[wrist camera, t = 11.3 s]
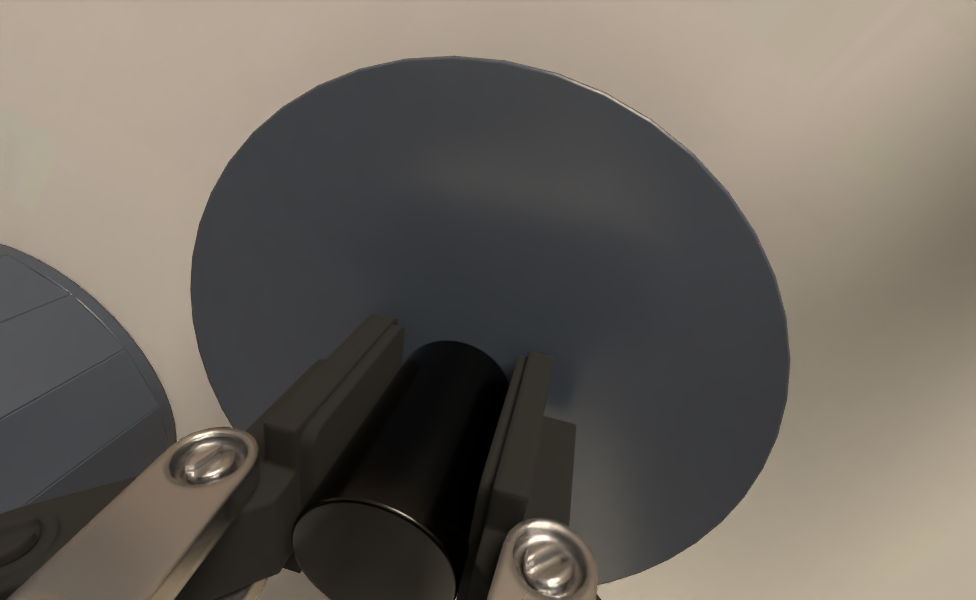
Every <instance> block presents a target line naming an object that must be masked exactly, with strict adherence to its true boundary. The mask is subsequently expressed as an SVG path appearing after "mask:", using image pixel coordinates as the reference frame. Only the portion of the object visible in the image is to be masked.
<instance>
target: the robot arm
mask: <svg viewBox="0 0 976 600" xmlns="http://www.w3.org/2000/svg"><path fill="white" fill-rule="evenodd" d="M404 336H405V329H404V327H403V326H399V325H398V320H397V318H393V317H389V316H385V315H381V314H377V313H372V314H370V315H369V316H368V317H367V318H366V319H365V320H364V321H363V322H362V323H361V324H360V325H359V326H358V327H357V328H356V329H355V330H354V331H353V332H352V334H351V335H350V336H349V337H348V338H347V339H346V340H345V341H344V342H343V343H342V344H341V345H340V346H339V347H338V348H337V349H336V350H335V351H334V352H333V353H332V354H331V355H330V356H329V357H328V358H327V359H324V358H323V359H319V360H318V361H316V362H315V363H314V364H313V365H312V366H311V367H310V368H309V369H308V370H307V371H306V372H305V373H304V374H303V375H302V376H301V377H300V378H299V379H298V380H297V381H296V382H295V383H294V384H293V385H292V386H291V387H290V388H289V389H288V390H287V391H286V392H285V393H283V394H282V395H281V396H280V397H279V398H278V399H277V400H276V401H275V402H274V403H273V404H272V405H271V406H270V407H269V408H268V409H267V410H266V411H265V412H264V413H263V414H262V415H261V416H260V417H259V418H258V419H257V420H256V421H255V422H254V423H253V424H252V425H251V426H250V427H249V428H248V429H247V430H246V431H243V430H240V429H238V428H230V427H217V428H208V429H205V430H201V431H197V432H194V433H192V434H190V435H188V436H186V437H184V438H182V439H180V440H178V441H177V442H176V443H174V444H173V445H172V446H170V447H169V448H168V449H167V450H166V451H165V452H164V453H163V454H162V455H160V456H159V457H158V458H157V459H156V460H155V461H154V462H153V463H152V464H151V465H150V466H149V467H148V468H147V469H146V470H144V471H143V472H142V473H141V474H140V475H139V476H136V477H132V478H128V479H125V480H121V481H117V482H113V483H110V484H106V485H102V486H98V487H95V488H91V489H87V490H83V491H80V492H76V493H72V494H68V495H65V496H61V497H57V498H53V499H50V500H46V501H42V502H38V503H35V504H31V505H27V506H23V507H20V508H16V509H13V510H10V511H7V512H5V513H2V514H0V600H257V599H258V597H259V596H260V594H261V592H262V590H263V588H264V586H265V584H266V581H267V579H268V577H270V576H273V575H275V574H278V573H279V572H280V571H281V569H282V568H285V569H288V570H291V571H295V572H298V573H300V572H301V571H302V569H301V568H300V566H299V564H298V562H297V560H296V558H295V556H294V552H293V549H292V543H291V534H292V529H293V525H294V522H295V520H296V518H297V516H298V515H299V513H300V512H301V510H302V509H303V507H304V506H305V504H306V503H307V502H308V500H309V499H310V497H311V496H312V494H313V493H314V492H315V490H316V489H317V487H318V486H319V484H320V483H321V482H322V480H323V479H324V477H325V476H326V474H327V473H328V472H329V470H330V469H331V467H332V466H333V464H334V463H335V462H336V460H337V459H338V457H339V456H340V454H341V453H342V452H343V450H344V449H345V447H346V446H347V444H348V443H349V442H350V440H351V439H352V437H353V436H354V434H355V433H356V432H357V430H358V429H359V427H360V426H361V424H362V423H363V422H364V420H365V419H366V417H367V416H368V414H369V413H370V412H371V410H372V409H373V407H374V406H375V404H376V403H377V401H378V400H379V399H380V397H381V396H382V394H383V393H384V391H385V390H386V389H387V387H388V386H389V384H390V383H391V381H392V380H393V379H394V377H395V376H396V374H397V373H398V371H399V370H400V369H401V367H402V359H403V348H404ZM553 358H554V357H552V356H548V355H544V354H540V353H536V352H532V351H530V352H529V355H528V357H525V356H521V355H519V356H518V359H517V362H516V365H515V369H514V372H513V375H512V379H511V382H510V385H509V388H508V392H507V395H506V398H505V402H504V405H503V408H502V411H501V415H500V418H499V421H498V425H497V428H496V431H495V435H494V438H493V441H492V444H491V448H490V451H489V454H488V458H487V461H486V464H485V467H484V471H483V474H482V478H481V482H480V486H479V490H478V494H477V499H476V504H475V509H474V514H473V519H472V524H471V529H470V534H469V539H468V541H469V553H468V558H467V561H466V565H465V569H464V572H463V576H462V579H461V583H460V586H459V590H458V595H457V600H601V599H600V598H599V596H598V595H597V594H596V592H597V579H598V574H597V563H596V560H595V558H594V555H593V553H592V550H591V548H590V547H589V546H588V544H587V543H586V542H585V540H584V539H583V538H582V536H580V535H579V534H578V533H577V532H576V531H574V530H573V529H572V528H571V527H569V521H570V508H571V494H572V480H573V467H574V453H575V439H576V424H573V423H569V422H565V421H561V420H558V419H554V418H550V417H546V416H543V415H544V410H545V404H546V398H547V392H548V387H549V381H550V375H551V370H552V364H553Z"/></svg>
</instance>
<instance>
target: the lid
mask: <svg viewBox="0 0 976 600" xmlns="http://www.w3.org/2000/svg"><path fill="white" fill-rule="evenodd" d="M190 290H191V303H192V317H193V324H194V329H195V334H196V338H197V343H198V348H199V352H200V355H201V358H202V361H203V364H204V367H205V370H206V373H207V376H208V379H209V382H210V384H211V386H212V388H213V391H214V393H215V395H216V397H217V399H218V401H219V404H220V406H221V408H222V410H223V411H224V413H225V415H226V416H227V418H228V420H229V422H230V423H231V425H232V427H233V428H238V429H240V430H243V431H246V430H247V429H248V428H249V427H250V426H251V425H252V424H253V423H254V422H255V421H256V420H257V419H258V418H259V417H260V416H261V415H262V414H263V413H264V412H265V411H266V410H267V409H268V408H269V407H270V406H271V405H272V404H273V403H274V402H275V401H276V400H277V399H278V398H279V397H280V396H281V395H282V394H283V393H285V392H286V391H287V390H288V389H289V388H290V387H291V386H292V385H293V384H294V383H295V382H296V381H297V380H298V379H299V378H300V377H301V376H302V375H303V374H304V373H305V372H306V371H307V370H308V369H309V368H310V367H311V366H312V365H313V364H314V363H315V362H316V361H318V360H319V359H323V358H324V359H327V358H328V357H329V356H330V355H331V354H332V353H333V352H334V351H335V350H336V349H337V348H338V347H339V346H340V345H341V344H342V343H343V342H344V341H345V340H346V339H347V338H348V337H349V336H350V335H351V334H352V332H353V331H354V330H355V329H356V328H357V327H358V326H359V325H360V324H361V323H362V322H363V321H364V320H365V319H366V318H367V317H368V316H369V315H370V314H372V313H377V314H381V315H385V316H389V317H393V318H397V320H398V325H399V326H403V327H404V329H405V336H404V348H403V359H402V367H401V369H400V370H399V371H398V373H397V374H396V376H395V377H394V379H393V380H392V381H391V383H390V384H389V386H388V387H387V389H386V390H385V391H384V393H383V394H382V396H381V397H380V399H379V400H378V401H377V403H376V404H375V406H374V407H373V409H372V410H371V412H370V413H369V414H368V416H367V417H366V419H365V420H364V422H363V423H362V424H361V426H360V427H359V429H358V430H357V432H356V433H355V434H354V436H353V437H352V439H351V440H350V442H349V443H348V444H347V446H346V447H345V449H344V450H343V452H342V453H341V454H340V456H339V457H338V459H337V460H336V462H335V463H334V464H333V466H332V467H331V469H330V470H329V472H328V473H327V474H326V476H325V477H324V479H323V480H322V482H321V483H320V484H319V486H318V487H317V489H316V490H315V492H314V493H313V494H312V496H311V497H310V499H309V500H308V502H307V503H306V504H305V506H304V507H303V509H302V510H301V512H300V513H299V515H298V516H297V518H296V520H295V522H294V525H293V529H292V534H291V543H292V549H293V552H294V556H295V558H296V560H297V562H298V564H299V566H300V568H301V569H302V571H303V572H304V574H305V575H306V576H307V578H308V579H309V580H310V581H311V582H312V583H313V584H314V585H315V586H316V587H317V588H318V589H319V590H320V591H321V592H322V593H323V594H325V595H326V596H327V597H329V598H330V599H331V600H455V599H456V596H457V593H458V590H459V586H460V583H461V579H462V576H463V572H464V569H465V565H466V561H467V558H468V553H469V541H468V539H469V534H470V529H471V524H472V519H473V514H474V509H475V504H476V499H477V494H478V490H479V486H480V482H481V478H482V474H483V471H484V467H485V464H486V461H487V458H488V454H489V451H490V448H491V444H492V441H493V438H494V435H495V431H496V428H497V425H498V421H499V418H500V415H501V411H502V408H503V405H504V402H505V398H506V395H507V392H508V388H509V385H510V382H511V379H512V375H513V372H514V369H515V365H516V362H517V359H518V356H519V355H521V356H525V357H528V355H529V352H530V351H532V352H536V353H540V354H544V355H548V356H552V357H554V358H553V364H552V370H551V375H550V381H549V387H548V392H547V398H546V404H545V410H544V415H543V416H546V417H550V418H554V419H558V420H561V421H565V422H569V423H573V424H576V439H575V453H574V467H573V480H572V494H571V508H570V521H569V527H571V528H572V529H573V530H574V531H576V532H577V533H578V534H579V535H580V536H582V538H583V539H584V540H585V542H586V543H587V544H588V546H589V547H590V548H591V550H592V553H593V555H594V558H595V560H596V563H597V574H598V579H597V585H599V584H604V583H609V582H612V581H615V580H618V579H622V578H625V577H628V576H631V575H634V574H637V573H640V572H642V571H645V570H647V569H649V568H651V567H654V566H656V565H658V564H660V563H662V562H665V561H667V560H669V559H671V558H672V557H674V556H675V555H677V554H679V553H680V552H682V551H684V550H685V549H687V548H688V547H690V546H692V545H693V544H695V543H696V542H698V541H699V540H700V539H701V538H703V537H704V536H705V535H706V534H708V533H709V532H710V531H711V530H712V529H714V528H715V527H716V526H717V525H719V524H720V523H721V522H722V521H723V520H724V519H725V518H726V517H727V515H728V514H729V513H730V512H731V511H732V510H733V509H734V508H735V507H736V506H737V505H738V503H739V502H740V501H741V500H742V499H743V498H744V497H745V495H746V494H747V492H748V491H749V489H750V488H751V486H752V485H753V483H754V482H755V480H756V479H757V477H758V476H759V474H760V472H761V471H762V469H763V468H764V465H765V463H766V461H767V459H768V456H769V454H770V452H771V450H772V448H773V445H774V443H775V441H776V439H777V436H778V433H779V429H780V425H781V421H782V417H783V413H784V409H785V406H786V402H787V395H788V383H789V370H790V350H789V339H788V328H787V318H786V314H785V311H784V307H783V303H782V299H781V296H780V292H779V288H778V284H777V281H776V277H775V274H774V272H773V270H772V268H771V265H770V263H769V261H768V259H767V257H766V254H765V252H764V250H763V248H762V245H761V243H760V241H759V239H758V237H757V234H756V233H755V231H754V230H753V228H752V227H751V225H750V224H749V222H748V221H747V219H746V217H745V216H744V214H743V213H742V211H741V210H740V208H739V207H738V205H737V204H736V202H735V201H734V199H733V198H732V196H731V195H730V193H729V192H728V191H727V190H726V189H725V188H724V186H723V185H722V184H721V183H720V182H719V181H718V180H717V179H716V178H715V177H714V176H713V174H712V173H711V172H710V171H709V170H708V169H707V168H706V167H705V166H704V165H703V163H702V162H701V161H700V160H699V159H698V158H697V157H696V156H695V155H694V154H693V153H692V152H691V151H689V150H688V149H687V148H686V147H685V146H683V145H682V144H681V143H680V142H678V141H677V140H676V139H675V138H673V137H672V136H671V135H670V134H668V133H667V132H666V131H665V130H664V129H662V128H661V127H660V126H659V125H657V124H656V123H655V122H654V121H652V120H651V119H649V118H648V117H646V116H644V115H643V114H641V113H639V112H638V111H636V110H634V109H632V108H631V107H629V106H627V105H626V104H624V103H622V102H621V101H619V100H617V99H616V98H614V97H612V96H610V95H609V94H607V93H605V92H602V91H600V90H598V89H595V88H593V87H590V86H588V85H585V84H583V83H580V82H578V81H575V80H573V79H571V78H568V77H566V76H563V75H561V74H558V73H554V72H550V71H546V70H542V69H538V68H534V67H530V66H526V65H521V64H517V63H513V62H509V61H504V60H493V59H482V58H472V57H461V56H444V57H427V58H411V59H402V60H397V61H393V62H388V63H384V64H379V65H375V66H370V67H366V68H361V69H358V70H355V71H353V72H350V73H348V74H345V75H343V76H340V77H338V78H335V79H333V80H330V81H328V82H325V83H323V84H320V85H318V86H316V87H314V88H313V89H311V90H309V91H308V92H306V93H305V94H303V95H301V96H300V97H298V98H296V99H295V100H293V101H291V102H290V103H288V104H286V105H285V106H283V107H282V108H281V109H279V110H278V111H277V112H276V113H275V114H274V115H273V116H271V117H270V118H269V119H268V120H267V121H266V122H264V123H263V124H262V125H261V126H260V127H259V128H257V129H256V130H255V131H254V132H253V133H252V134H251V135H250V137H249V138H248V139H247V140H246V142H245V143H244V144H243V145H242V146H241V148H240V149H239V150H238V151H237V152H236V154H235V155H234V156H233V157H232V159H231V160H230V161H229V162H228V164H227V166H226V168H225V169H224V171H223V173H222V174H221V176H220V178H219V180H218V181H217V183H216V185H215V187H214V188H213V190H212V192H211V194H210V197H209V199H208V202H207V205H206V207H205V210H204V213H203V215H202V218H201V221H200V223H199V227H198V232H197V237H196V242H195V246H194V251H193V256H192V271H191V287H190Z"/></svg>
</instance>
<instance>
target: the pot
mask: <svg viewBox="0 0 976 600" xmlns="http://www.w3.org/2000/svg"><path fill="white" fill-rule="evenodd" d="M174 443H176V432H175V423H174V419H173V415H172V411H171V407H170V404H169V402H168V399H167V396H166V394H165V391H164V389H163V387H162V385H161V383H160V381H159V379H158V377H157V375H156V373H155V371H154V369H153V368H152V366H151V365H150V363H149V361H148V360H147V358H146V357H145V355H144V354H143V352H142V351H141V349H140V348H139V347H138V345H137V344H136V343H135V341H134V340H133V339H132V338H131V336H130V335H129V334H128V332H127V331H126V330H125V329H124V328H123V327H122V326H121V325H120V324H119V322H118V321H117V320H116V319H115V318H114V317H113V316H112V315H111V314H110V313H109V312H108V311H107V310H106V309H105V308H104V307H103V306H102V305H101V304H100V303H99V302H98V301H96V300H95V299H94V298H93V297H92V296H91V295H89V294H88V293H87V292H86V291H85V290H83V289H82V288H81V287H80V286H78V285H77V284H76V283H75V282H73V281H72V280H70V279H69V278H67V277H66V276H64V275H63V274H61V273H60V272H58V271H57V270H55V269H54V268H52V267H50V266H48V265H47V264H45V263H43V262H41V261H40V260H38V259H36V258H34V257H32V256H30V255H27V254H25V253H23V252H21V251H18V250H16V249H14V248H11V247H7V246H4V245H1V244H0V514H2V513H5V512H7V511H10V510H13V509H16V508H20V507H23V506H27V505H31V504H35V503H38V502H42V501H46V500H50V499H53V498H57V497H61V496H65V495H68V494H72V493H76V492H80V491H83V490H87V489H91V488H95V487H98V486H102V485H106V484H110V483H113V482H117V481H121V480H125V479H128V478H132V477H136V476H139V475H140V474H141V473H142V472H143V471H144V470H146V469H147V468H148V467H149V466H150V465H151V464H152V463H153V462H154V461H155V460H156V459H157V458H158V457H159V456H160V455H162V454H163V453H164V452H165V451H166V450H167V449H168V448H169V447H170V446H172V445H173V444H174Z"/></svg>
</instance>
